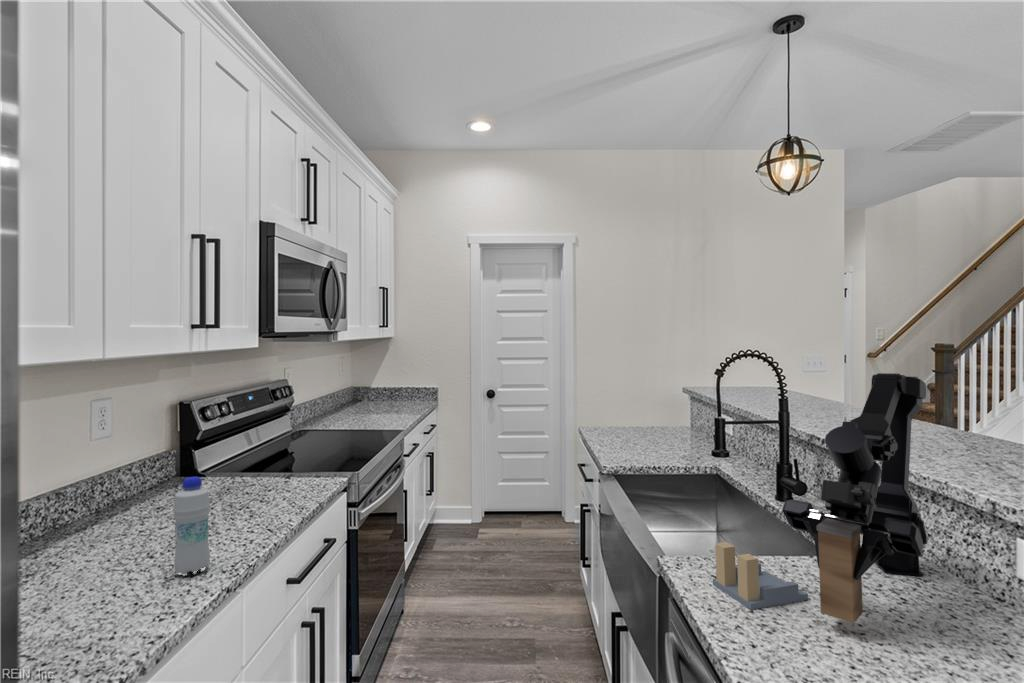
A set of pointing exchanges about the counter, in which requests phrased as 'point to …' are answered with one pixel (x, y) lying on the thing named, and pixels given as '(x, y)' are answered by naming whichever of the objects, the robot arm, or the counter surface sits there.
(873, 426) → the robot arm
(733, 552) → the base with wooden posts
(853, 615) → the rail end
